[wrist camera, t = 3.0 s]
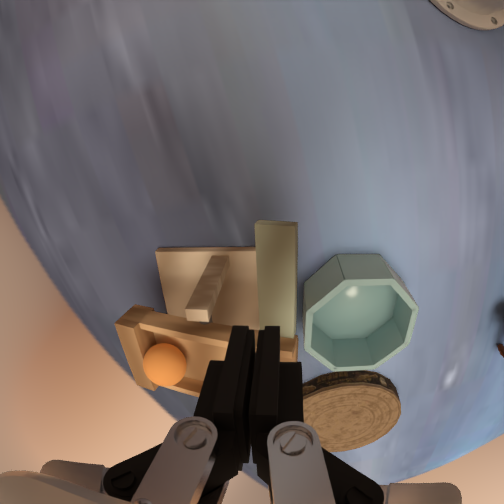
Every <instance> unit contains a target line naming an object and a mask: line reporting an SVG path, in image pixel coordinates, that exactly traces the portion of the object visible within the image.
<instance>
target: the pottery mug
mask: <svg viewBox="0 0 504 504" xmlns="http://www.w3.org/2000/svg"><path fill="white" fill-rule="evenodd" d="M497 347H498V350H499V351H500V354H501V355H502V356H503V357H504V346H503V344H499V345H498V346H497Z"/></svg>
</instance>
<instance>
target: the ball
mask: <svg viewBox="0 0 504 504" xmlns="http://www.w3.org/2000/svg"><path fill="white" fill-rule="evenodd" d="M186 368H187V364H186V359H185V357H184V355H183V353H182V352H181V351H180V350H179V349H178V348H177V347H175V346H174V345H171V344H167V343H160V344H156V345H154V346H152V347H151V348H150V349H149V350H148V351H147V352H146V354H145V356H144V359H143V369H144V372H145V374H146V376H147V377H148V378H149V380H151V381H152V382H153V383H155V384H157V385H160V386H172V385H175V384H177V383H178V382H179V381H180V380H181V379H182V378H183V377H184V375H185V373H186Z"/></svg>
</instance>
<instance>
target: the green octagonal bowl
mask: <svg viewBox="0 0 504 504" xmlns="http://www.w3.org/2000/svg"><path fill="white" fill-rule="evenodd" d="M418 309H419V308H418V305H417V304H416V302H415V300H414V299H413V297H412V295H411V294H410V292H409V290H408V289H407V287H406V285H405V284H404V282H403V281H402V279H401V278H400V277H399V276H398V275H397V274H396V272H395V271H394V270H393V269H392V268H391V267H390V266H389V264H388V263H387V262H386V261H385V260H384V259H383V258H382V257H381V255H380V254H337V255H335V256H334V257H333V258H332V259H330V260H329V261H328V262H327V263H326V264H325V265H324V266H323V267H321V268H320V269H319V270H318V271H317V272H316V273H315V274H313V275H312V276H311V277H310V278H309V279H308V280H307V281H305V282H304V293H303V336H304V350H305V351H307V352H308V353H309V354H311V355H312V356H313V357H315V358H316V359H317V360H318V361H320V362H321V363H322V364H324V365H325V366H326V367H328V368H329V369H330V370H332V371H334V372H335V371H356V370H372V369H376V368H377V367H379V366H380V365H382V364H383V363H384V362H386V361H387V360H389V359H390V358H391V357H393V356H394V355H396V354H397V353H398V352H400V351H401V350H402V349H404V348H405V347H406V346H408V344H409V343H410V339H411V336H412V332H413V329H414V325H415V321H416V317H417V313H418Z"/></svg>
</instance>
